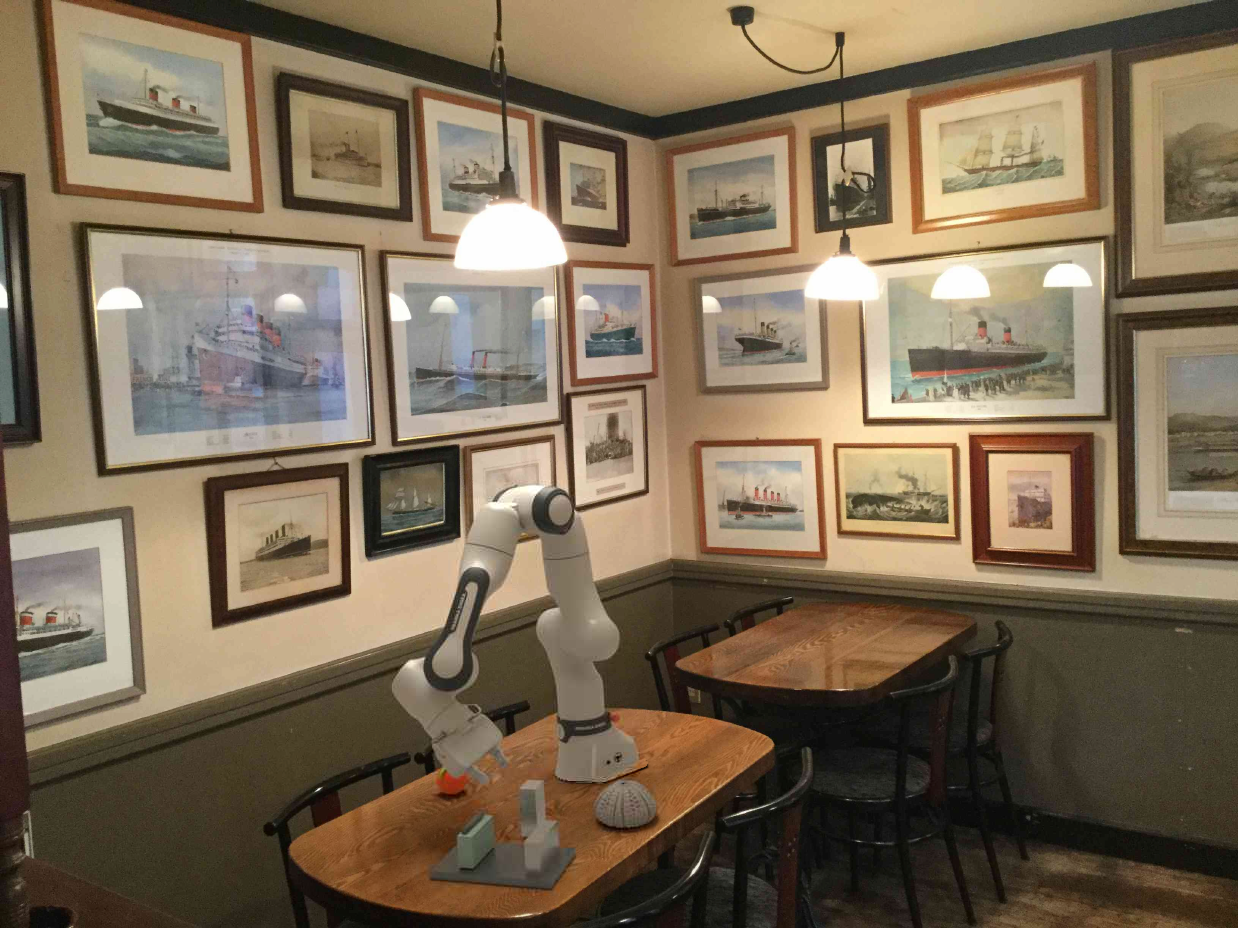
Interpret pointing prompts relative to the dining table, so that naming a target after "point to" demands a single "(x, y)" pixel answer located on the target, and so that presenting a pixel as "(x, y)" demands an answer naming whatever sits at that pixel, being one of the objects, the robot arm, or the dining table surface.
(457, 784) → the clementine
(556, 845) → the vise
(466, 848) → the sliding jaw
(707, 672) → the dining table surface
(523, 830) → the block
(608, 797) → the sea urchin shell
